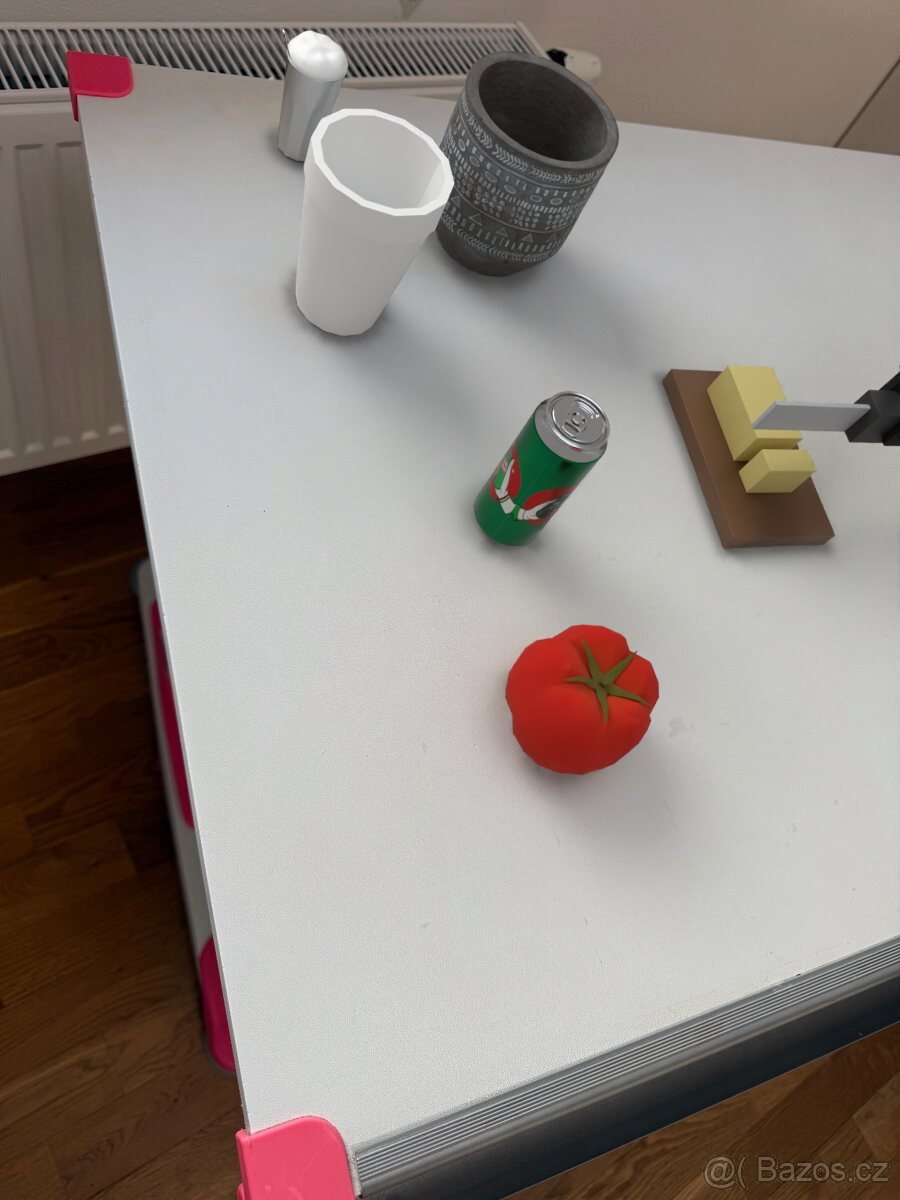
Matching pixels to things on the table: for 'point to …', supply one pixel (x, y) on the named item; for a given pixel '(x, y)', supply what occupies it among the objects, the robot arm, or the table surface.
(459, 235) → the planter
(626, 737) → the tomato
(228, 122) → the table surface
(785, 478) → the butter pat
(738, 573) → the table surface
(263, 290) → the table surface
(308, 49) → the milkshake
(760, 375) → the butter stick
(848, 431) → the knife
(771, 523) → the board
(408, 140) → the foam cup
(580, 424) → the soda can
